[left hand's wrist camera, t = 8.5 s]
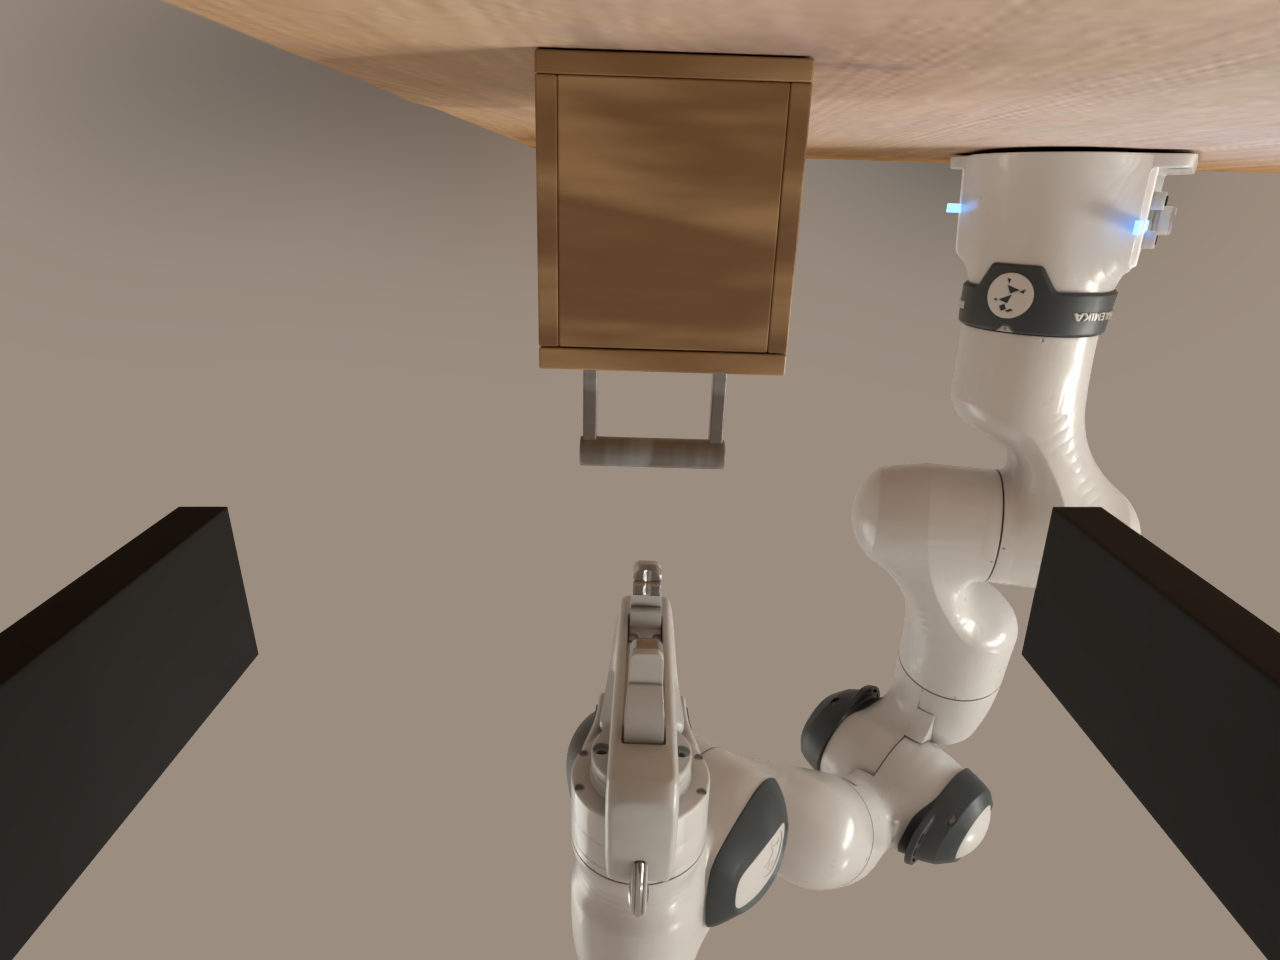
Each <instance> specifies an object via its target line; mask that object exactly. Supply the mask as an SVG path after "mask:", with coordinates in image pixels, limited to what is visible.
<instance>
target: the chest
mask: <svg viewBox="0 0 1280 960" xmlns="http://www.w3.org/2000/svg"><path fill="white" fill-rule="evenodd" d="M814 63H815V61H814V59H813V58H790V57H760V56H731V55H702V54H673V53H644V52H614V51H585V50H556V49H536V50H535V72H536V74H535V112H536V180H537V246H538V313H539V345H540V346H558V345H559V346H563V347H596V348H630V349H663V350H696V351H729V352H762V353H765V352H768V353H786V352H787V345H788V335H789V324H790V314H791V304H792V293H793V283H794V272H795V262H796V252H797V241H798V231H799V220H800V210H801V200H802V189H803V179H804V168H805V158H806V148H807V137H808V127H809V116H810V106H811V96H812V83H811V82H812V81H813V74H814Z"/></svg>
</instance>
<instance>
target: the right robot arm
mask: <svg viewBox="0 0 1280 960" xmlns="http://www.w3.org/2000/svg"><path fill="white" fill-rule="evenodd" d="M1198 155H1199V154H1192V153H1135V152H1008V153H986V154H974V155H969V156H958V157H951V169H963V172H962V183H961V194H960V204H948V205H947V211H946V212H959V215H958V226H957V237H956V252H957V254H958V255H959V257H960V258H961V259H962V260H963V262H964V264H965V266H966V268H967V272H968V276H969V280H968V281H966V282H965V283H964V284H963V291H962V296H961V298H960V302H959V307H960V311H959V320H960V321H961V322H962V329H961V334H960V340H959V346H958V352H957V358H956V364H955V369H954V375H953V381H952V387H951V399H952V404H953V407H954V409H955V411H956V412H957V414H958V415H959V417H960V418H961V419H962V420H963V421H964V422H965V423H967V424H968V425H969V426H971V427H972V428H973V429H975V430H976V431H978V432H979V433H981V434H983V435H984V436H986V437H988V438H990V439H991V440H993V441H995V442H997V443H998V444H1000V445H1002V446H1003V447H1004V448H1006V449H1007V461H1006V465H1005V467H1004V468H1003V469H995V470H990V469H980V468H970V467H961V466H951V465H941V464H931V463H919V464H905V465H894V466H885V467H879V468H878V469H876V470H875V471H874V472H873V473H871V474H870V475H869V476H868V477H867V479H866V480H865V481H864V482H863V484H862V485H861V486H860V488H859V490H858V492H857V494H856V497H855V500H854V503H853V508H852V524H853V530H854V534H855V536H856V539H857V541H858V543H859V545H860V547H861V548H862V550H863V551H864V553H865V554H866V555H867V556H868V557H869V558H870V559H871V560H873V561H874V562H876V563H877V564H879V565H880V566H881V567H882V568H884V569H885V570H886V571H887V572H888V573H889V574H890V575H891V576H892V577H893V578H894V580H895V581H896V582H897V584H898V585H899V587H900V589H901V591H902V593H903V595H904V598H905V606H906V609H905V620H904V628H903V633H902V638H901V643H900V647H899V652H898V658H897V664H896V672H895V677H894V680H893V683H892V686H891V688H890V689H889V691H888V692H887V693H886V694H885V696H884V697H881V698H880V691H879V689H878V688H877V687H876V686H871V685H867V686H864V687H863V688H861V689H860V690H857V689H848V690H845V691H841V692H837V693H835V694H832V695H830V696H828V697H827V698H825V699H824V700H823V701H822V702H821V703H820V704H819V705H818V706H817V707H816V708H815V709H814V711H813V712H812V713H811V715H810V716H809V718H808V720H807V722H806V724H805V726H804V729H803V732H802V735H801V751H802V753H803V755H804V757H805V758H806V760H807V761H808V762H809V764H810V765H811V766H812V767H813V768H814V770H813V769H807V768H802V767H796V766H790V765H784V764H779V763H774V762H769V761H764V760H759V759H755V758H750V757H744V756H739V755H734V754H732V753H730V752H728V751H726V750H725V749H723V748H721V747H719V746H718V745H716V744H714V743H712V742H710V741H708V740H707V739H705V738H703V737H701V736H699V735H698V734H696V733H694V732H692V730H691V725H690V721H689V716H688V709H687V707H686V701H685V698H684V696H681V695H680V692H679V686H678V678H677V667H676V654H675V641H674V627H673V617H672V609H671V604H670V601H669V600H668V599H667V598H666V597H661V565H660V563H658V562H656V561H638V562H636V563H635V564H634V570H633V587H632V594H631V596H625V597H623V598H622V600H621V602H620V606H619V610H618V615H617V620H616V627H615V634H614V640H613V647H612V654H611V661H610V668H609V674H608V680H607V685H606V690H605V693H601V694H600V695H599V700H598V704H597V706H596V711H595V712H593V713H592V714H590V715H589V716H588V717H587V718H586V719H585V720H584V721H583V722H582V723H581V724H580V726H579V727H578V729H577V730H576V732H575V733H574V735H573V737H572V740H571V742H570V745H569V749H568V754H567V781H568V787H569V792H570V797H571V838H572V846H573V849H574V853H575V856H576V858H577V860H576V862H575V865H574V868H573V873H572V880H571V912H572V927H573V937H574V942H575V948H576V953H577V957H578V960H695V957H696V954H697V952H698V950H699V948H700V945H701V943H702V941H703V939H704V938H705V936H706V934H707V932H708V931H709V929H710V927H713V926H717V925H719V924H722V923H724V922H726V921H728V920H730V919H732V918H734V917H736V916H738V915H740V914H741V913H743V912H745V911H747V910H748V909H750V908H751V907H752V906H753V905H755V904H756V903H757V902H758V901H759V900H760V899H761V898H762V897H763V895H764V894H765V893H766V892H767V890H768V889H769V887H770V886H771V884H772V883H773V881H774V879H775V877H776V875H778V876H780V877H781V878H783V879H785V880H787V881H789V882H791V883H793V884H795V885H797V886H800V887H803V888H806V889H811V890H829V889H836V888H841V887H844V886H847V885H850V884H853V883H855V882H856V881H858V880H860V879H862V878H863V877H864V876H866V875H867V874H868V873H869V872H870V871H871V870H872V869H873V868H874V866H875V865H876V864H877V862H878V861H879V859H880V858H881V856H882V855H883V854H884V852H885V851H886V850H888V849H898V851H899V852H902V853H904V854H905V857H904V861H905V863H907V864H910V865H912V864H914V863H915V862H916V861H917V860H921V861H924V862H928V863H932V864H943V863H952V862H956V861H958V860H959V859H960V858H961V857H963V856H965V855H966V854H968V853H970V852H971V851H972V850H973V849H975V848H976V847H977V846H978V844H979V843H980V842H981V841H982V839H983V838H984V836H985V834H986V831H987V829H988V826H989V822H990V814H991V809H992V806H993V803H992V797H991V792H990V791H989V789H988V788H987V787H986V785H985V784H984V783H983V782H982V781H981V780H980V779H979V778H978V777H977V776H976V775H975V774H974V773H973V772H972V771H971V770H969V769H968V768H966V769H964V768H963V767H961V766H960V765H959V764H958V763H957V762H956V761H955V760H954V759H952V758H951V757H950V756H949V755H948V754H946V753H945V752H944V751H943V750H941V749H940V748H939V747H938V746H936V745H937V744H943V745H947V744H955V743H958V742H961V741H963V740H965V739H966V738H968V737H969V736H970V735H971V734H972V733H973V732H974V731H975V729H976V728H977V727H978V726H979V724H980V723H981V722H982V720H983V719H984V717H985V716H986V714H987V712H988V710H989V709H990V707H991V705H992V703H993V701H994V699H995V697H996V695H997V693H998V690H999V688H1000V685H1001V682H1002V679H1003V676H1004V674H1005V671H1006V668H1007V665H1008V662H1009V659H1010V656H1011V653H1012V651H1013V648H1014V645H1015V642H1016V639H1017V635H1018V624H1017V619H1016V616H1015V613H1014V611H1013V609H1012V608H1011V606H1010V604H1009V603H1008V602H1007V601H1006V599H1005V598H1004V597H1003V596H1002V595H1001V593H1000V592H999V591H998V590H997V589H996V588H994V587H993V586H992V585H990V584H989V583H988V582H993V583H1001V584H1008V585H1016V586H1023V587H1031V588H1036V584H1037V579H1038V575H1039V570H1040V565H1041V560H1042V556H1043V551H1044V546H1045V542H1046V537H1047V532H1048V527H1049V523H1050V518H1051V513H1052V509H1053V507H1102V508H1103V509H1105V510H1106V511H1108V512H1109V513H1110V514H1112V515H1113V516H1115V517H1116V518H1117V519H1119V520H1120V521H1122V522H1123V523H1125V524H1126V525H1127V526H1129V527H1130V528H1132V529H1133V530H1134V531H1136V532H1137V533H1139V534H1140V535H1141V530H1140V524H1139V520H1138V517H1137V515H1136V512H1135V511H1134V508H1133V507H1132V505H1131V504H1130V502H1129V501H1128V500H1127V498H1126V497H1125V496H1124V495H1123V494H1122V493H1121V492H1120V491H1119V490H1118V489H1116V488H1115V487H1114V486H1113V485H1112V484H1111V483H1110V482H1109V481H1108V480H1107V479H1106V477H1105V476H1104V475H1103V474H1102V472H1101V471H1100V469H1099V468H1098V466H1097V465H1096V463H1095V461H1094V459H1093V456H1092V454H1091V452H1090V449H1089V446H1088V442H1087V438H1086V432H1085V407H1086V399H1087V391H1088V385H1089V379H1090V373H1091V368H1092V363H1093V358H1094V354H1095V349H1096V345H1097V340H1098V336H1099V335H1100V334H1102V333H1103V332H1104V331H1105V329H1106V326H1107V323H1108V320H1109V319H1110V318H1111V316H1112V313H1113V310H1114V309H1113V306H1114V303H1115V300H1116V297H1117V294H1118V292H1117V291H1116V290H1115V287H1116V285H1117V283H1118V282H1119V280H1120V279H1121V277H1122V276H1123V275H1124V274H1125V273H1127V272H1129V271H1130V270H1131V268H1132V267H1135V266H1136V264H1137V261H1138V256H1139V253H1140V251H1141V249H1154V247H1155V245H1156V241H1157V237H1158V235H1168V234H1170V233H1171V231H1172V227H1173V224H1174V220H1175V216H1176V211H1177V208H1176V207H1174V206H1166V204H1167V201H1168V192H1161V189H1162V185H1163V181H1164V178H1165V176H1166V175H1185V174H1194V172H1195V170H1196V168H1197V165H1198Z"/></svg>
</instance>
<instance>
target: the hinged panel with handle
mask: <svg viewBox="0 0 1280 960" xmlns="http://www.w3.org/2000/svg"><path fill="white" fill-rule="evenodd" d="M785 365H786V355H785V354H784V353H768V352H765V353H762V352H729V351H696V350H663V349H630V348H596V347H563V346H559V345H558V346H540V348H539V367H540V368H545V369H579V370H584V371H583V372H584V373H583V436H581V439H580V465H590V466H625V467H661V468H695V469H723V468H724V464H725V442H724V440H722V439H723V425H724V411H725V397H726V382H727V374H747V375H780V376H782V375H784V374H785ZM598 370H612V371H646V372H679V373H712V389H711V405H710V420H709V436H708V440H707V439H672V438H636V437H602V436H597V383H598Z"/></svg>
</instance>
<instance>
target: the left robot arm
mask: <svg viewBox="0 0 1280 960" xmlns="http://www.w3.org/2000/svg"><path fill="white" fill-rule="evenodd" d="M257 655H258V650H257V646H256V641H255V636H254V631H253V627H252V622H251V617H250V612H249V608H248V603H247V598H246V594H245V589H244V584H243V579H242V575H241V570H240V565H239V561H238V556H237V551H236V547H235V542H234V537H233V532H232V527H231V523H230V518H229V513H228V509H227V507H178V508H177V509H175V510H174V511H172V512H171V513H170V514H168V515H167V516H165V517H164V518H163V519H161V520H160V521H158V522H157V523H156V524H154V525H153V526H151V527H150V528H148V529H147V530H146V531H144V532H143V533H141V534H140V535H138V536H137V537H136V538H134V539H133V540H131V541H130V542H129V543H127V544H126V545H124V546H123V547H121V548H120V549H119V550H117V551H116V552H114V553H113V554H112V555H110V556H109V557H107V558H106V559H105V560H103V561H102V562H100V563H99V564H97V565H96V566H95V567H93V568H92V569H90V570H89V571H88V572H86V573H85V574H83V575H82V576H80V577H79V578H78V579H76V580H75V581H73V582H72V583H71V584H69V585H68V586H66V587H65V588H64V589H62V590H61V591H59V592H58V593H56V594H55V595H54V596H52V597H51V598H49V599H48V600H47V601H45V602H44V603H42V604H41V605H40V606H38V607H37V608H35V609H34V610H32V611H31V612H30V613H28V614H27V615H25V616H24V617H23V618H21V619H20V620H18V621H17V622H15V623H14V624H13V625H11V626H10V627H8V628H7V629H6V630H4V631H3V632H1V633H0V960H12V959H13V958H14V957H15V956H16V954H17V953H18V952H19V950H20V949H21V948H22V947H23V946H24V944H25V943H26V942H27V941H28V939H29V938H30V937H31V936H32V934H33V933H34V932H35V931H36V929H37V928H38V927H39V926H40V924H41V923H42V922H43V921H44V920H45V918H46V917H47V916H48V915H49V913H50V912H51V911H52V910H53V908H54V907H55V906H56V905H57V903H58V902H59V901H60V900H61V898H62V897H63V896H64V895H65V893H66V892H67V891H68V890H69V889H70V887H71V886H72V885H73V884H74V882H75V881H76V880H77V879H78V877H79V876H80V875H81V874H82V872H83V871H84V870H85V869H86V867H87V866H88V865H89V864H90V862H91V861H92V860H93V859H94V857H95V856H96V855H97V854H98V853H99V851H100V850H101V849H102V848H103V846H104V845H105V844H106V843H107V841H108V840H109V839H110V838H111V836H112V835H113V834H114V833H115V831H116V830H117V829H118V828H119V826H120V825H121V824H122V823H123V822H124V820H125V819H126V818H127V816H128V815H129V814H130V813H131V812H132V810H133V809H134V808H135V807H136V805H137V804H138V803H139V802H140V800H141V799H142V798H143V797H144V795H145V794H146V793H147V792H148V791H149V789H150V788H151V787H152V786H153V784H154V783H155V782H156V781H157V779H158V778H159V777H160V776H161V774H162V773H163V772H164V771H165V769H166V768H167V767H168V766H169V764H170V763H171V762H172V761H173V760H174V758H175V757H176V756H177V755H178V753H179V752H180V751H181V750H182V748H183V747H184V746H185V745H186V743H187V742H188V741H189V740H190V738H191V737H192V736H193V735H194V733H195V732H196V731H197V730H198V728H199V727H200V726H201V725H202V723H203V722H204V721H205V720H206V719H207V717H208V716H209V715H210V714H211V712H212V711H213V710H214V709H215V707H216V706H217V705H218V704H219V702H220V701H221V700H222V699H223V697H224V696H225V695H226V694H227V693H228V691H229V690H230V689H231V688H232V686H233V685H234V684H235V683H236V681H237V680H238V679H239V678H240V676H241V675H242V674H243V673H244V671H245V670H246V669H247V668H248V666H249V665H250V664H251V663H252V662H253V660H254V659H255V658H256V657H257ZM1022 655H1023V656H1024V658H1025V659H1026V660H1027V662H1028V663H1029V664H1030V665H1031V666H1032V668H1033V669H1034V670H1035V671H1036V673H1037V674H1038V675H1039V676H1040V678H1041V679H1042V680H1043V681H1044V683H1045V684H1046V685H1047V686H1048V688H1049V689H1050V690H1051V691H1052V693H1053V694H1054V695H1055V696H1056V697H1057V699H1058V700H1059V701H1060V702H1061V704H1062V705H1063V706H1064V707H1065V709H1066V710H1067V711H1068V712H1069V714H1070V715H1071V716H1072V717H1073V718H1074V720H1075V721H1076V722H1077V723H1078V725H1079V726H1080V727H1081V729H1082V730H1083V731H1084V732H1085V733H1086V735H1087V736H1088V737H1089V738H1090V740H1091V741H1092V742H1093V743H1094V745H1095V746H1096V747H1097V748H1098V750H1099V751H1100V752H1101V753H1102V754H1103V756H1104V757H1105V758H1106V759H1107V761H1108V762H1109V763H1110V764H1111V766H1112V767H1113V768H1114V769H1115V771H1116V772H1117V773H1118V774H1119V776H1120V777H1121V778H1122V779H1123V781H1124V782H1125V783H1126V784H1127V785H1128V787H1129V788H1130V789H1131V790H1132V792H1133V793H1134V794H1135V795H1136V797H1137V798H1138V799H1139V800H1140V802H1141V803H1142V804H1143V805H1144V807H1145V808H1146V809H1147V810H1148V812H1149V813H1150V814H1151V815H1152V817H1153V818H1154V819H1155V820H1156V822H1157V823H1158V824H1159V825H1160V827H1161V828H1162V829H1163V830H1164V831H1165V833H1166V834H1167V835H1168V836H1169V838H1170V839H1171V840H1172V841H1173V843H1174V844H1175V845H1176V846H1177V848H1178V849H1179V850H1180V851H1181V853H1182V854H1183V855H1184V856H1185V858H1186V859H1187V860H1188V861H1189V862H1190V864H1191V865H1192V866H1193V867H1194V869H1195V870H1196V871H1197V872H1198V874H1199V875H1200V876H1201V877H1202V879H1203V880H1204V881H1205V882H1206V883H1207V885H1208V886H1209V887H1210V888H1211V890H1212V891H1213V892H1214V893H1215V895H1216V896H1217V897H1218V898H1219V900H1220V901H1221V902H1222V903H1223V905H1224V906H1225V907H1226V908H1227V910H1228V911H1229V912H1230V913H1231V915H1232V916H1233V917H1234V918H1235V920H1236V921H1237V922H1238V923H1239V924H1240V926H1241V927H1242V928H1243V929H1244V931H1245V932H1246V933H1247V934H1248V936H1249V937H1250V938H1251V939H1252V941H1253V942H1254V943H1255V944H1256V946H1257V947H1258V948H1259V949H1260V951H1261V952H1262V953H1263V954H1264V956H1265V957H1266V958H1267V959H1268V960H1280V633H1279V632H1277V631H1276V630H1274V629H1273V628H1272V627H1270V626H1269V625H1267V624H1266V623H1265V622H1263V621H1262V620H1260V619H1259V618H1257V617H1256V616H1255V615H1253V614H1252V613H1250V612H1249V611H1248V610H1246V609H1245V608H1243V607H1242V606H1241V605H1239V604H1238V603H1236V602H1235V601H1233V600H1232V599H1231V598H1229V597H1228V596H1226V595H1225V594H1224V593H1222V592H1221V591H1219V590H1218V589H1216V588H1215V587H1214V586H1212V585H1211V584H1209V583H1208V582H1207V581H1205V580H1204V579H1202V578H1201V577H1199V576H1198V575H1197V574H1195V573H1194V572H1192V571H1191V570H1190V569H1188V568H1187V567H1185V566H1184V565H1183V564H1181V563H1180V562H1178V561H1177V560H1175V559H1174V558H1173V557H1171V556H1170V555H1168V554H1167V553H1166V552H1164V551H1163V550H1161V549H1160V548H1158V547H1157V546H1156V545H1154V544H1153V543H1151V542H1150V541H1149V540H1147V539H1146V538H1144V537H1143V536H1141V535H1140V534H1139V533H1137V532H1136V531H1134V530H1133V529H1132V528H1130V527H1129V526H1127V525H1126V524H1125V523H1123V522H1122V521H1120V520H1119V519H1117V518H1116V517H1115V516H1113V515H1112V514H1110V513H1109V512H1108V511H1106V510H1105V509H1103V508H1102V507H1053V509H1052V513H1051V518H1050V523H1049V527H1048V532H1047V537H1046V542H1045V546H1044V551H1043V556H1042V560H1041V565H1040V570H1039V575H1038V579H1037V584H1036V589H1035V594H1034V598H1033V603H1032V608H1031V612H1030V617H1029V622H1028V627H1027V631H1026V636H1025V641H1024V646H1023V650H1022Z"/></svg>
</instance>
